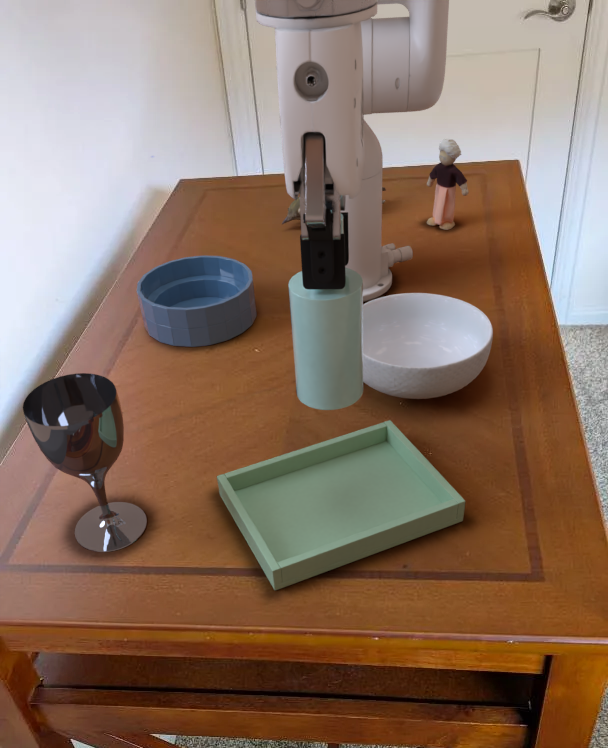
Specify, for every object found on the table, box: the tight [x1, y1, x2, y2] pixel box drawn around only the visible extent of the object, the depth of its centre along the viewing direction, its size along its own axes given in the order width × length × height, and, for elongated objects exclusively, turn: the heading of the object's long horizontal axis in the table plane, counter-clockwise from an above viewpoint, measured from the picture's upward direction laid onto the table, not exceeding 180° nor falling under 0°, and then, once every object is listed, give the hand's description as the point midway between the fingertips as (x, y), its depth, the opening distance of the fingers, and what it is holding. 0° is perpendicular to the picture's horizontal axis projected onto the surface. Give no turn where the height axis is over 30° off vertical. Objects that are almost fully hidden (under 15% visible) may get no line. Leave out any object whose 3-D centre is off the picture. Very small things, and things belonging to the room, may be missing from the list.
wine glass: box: [22, 372, 148, 553], centre depth 71 cm, size 8×8×15 cm
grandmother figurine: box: [426, 138, 470, 231], centre depth 117 cm, size 8×4×13 cm, turn 55°
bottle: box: [288, 210, 364, 411], centre depth 62 cm, size 6×6×15 cm
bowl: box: [136, 255, 258, 348], centre depth 102 cm, size 15×15×6 cm
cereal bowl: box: [363, 292, 494, 400], centre depth 89 cm, size 17×17×7 cm
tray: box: [216, 419, 466, 591], centre depth 75 cm, size 20×15×3 cm
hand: (326, 273), depth 59 cm, fingers closed on bottle, 3 cm apart
